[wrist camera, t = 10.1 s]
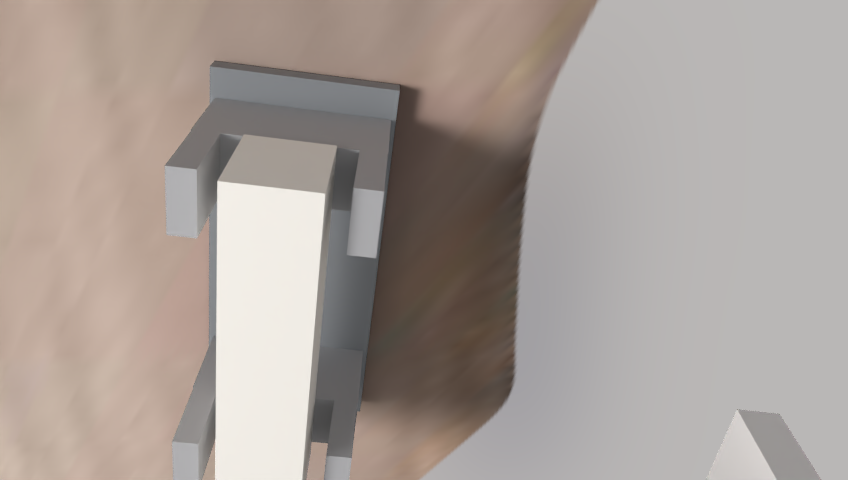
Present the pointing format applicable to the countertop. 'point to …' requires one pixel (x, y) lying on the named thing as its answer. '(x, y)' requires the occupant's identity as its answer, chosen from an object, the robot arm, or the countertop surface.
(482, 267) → the countertop surface
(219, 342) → the rail
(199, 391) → the bracket stand
